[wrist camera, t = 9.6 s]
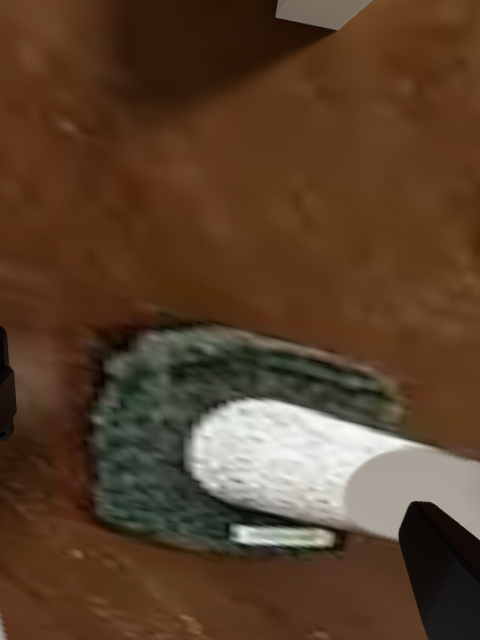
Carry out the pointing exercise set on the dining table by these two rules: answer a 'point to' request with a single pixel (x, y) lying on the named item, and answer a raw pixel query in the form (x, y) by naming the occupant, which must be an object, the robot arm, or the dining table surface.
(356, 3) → the square loop paddle
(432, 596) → the robot arm
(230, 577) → the dining table surface
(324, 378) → the dining table surface
